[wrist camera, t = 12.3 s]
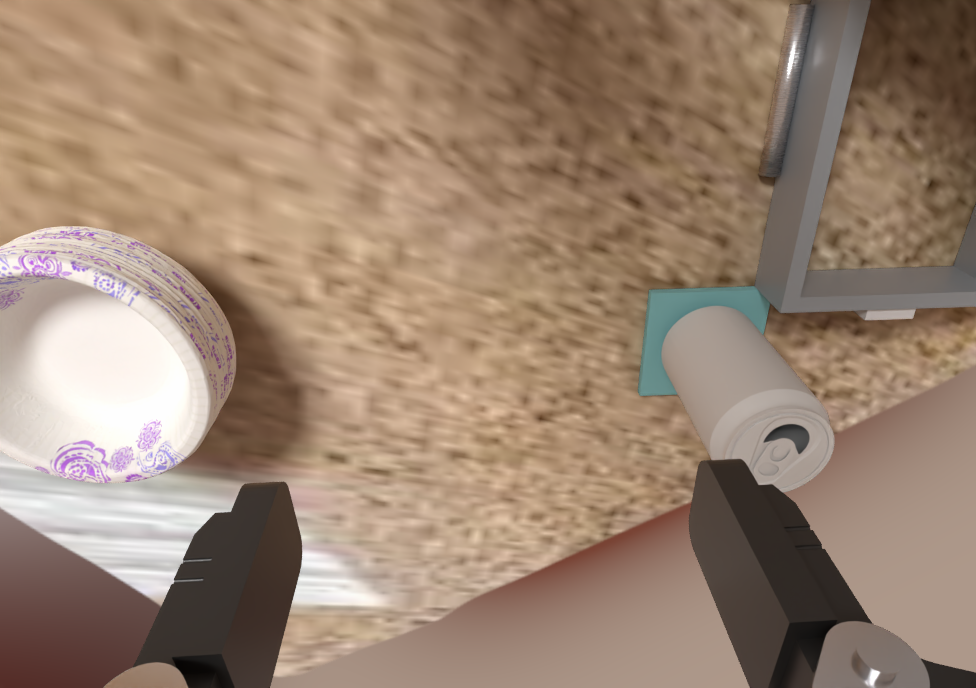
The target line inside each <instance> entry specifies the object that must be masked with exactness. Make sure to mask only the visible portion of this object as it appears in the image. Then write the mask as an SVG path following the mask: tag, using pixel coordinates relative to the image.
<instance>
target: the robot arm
mask: <svg viewBox="0 0 976 688" xmlns="http://www.w3.org/2000/svg"><path fill="white" fill-rule="evenodd" d="M689 532H690V538H691V543H692V546H693V549H694V552H695V554H696V557H697V559H698V562H699V564H700V566H701V569H702V572H703V574H704V576H705V579H706V581H707V584H708V586H709V589H710V591H711V594H712V596H713V598H714V601H715V603H716V606H717V608H718V611H719V613H720V615H721V618H722V620H723V623H724V625H725V628H726V630H727V633H728V635H729V638H730V640H731V642H732V645H733V647H734V650H735V652H736V655H737V657H738V660H739V662H740V664H741V667H742V669H743V672H744V674H745V677H746V679H747V682H748V684H749V686H750V688H976V673H974V672H971V671H966V670H962V669H957V668H953V667H949V666H944V665H940V664H936V663H933V662H929V661H926V660H923V659H921V658H920V657H919V656H918V655H917V654H916V652H915V651H914V650H913V649H912V648H911V647H910V646H909V645H908V644H907V643H906V642H904V641H903V640H902V639H901V638H899V637H898V636H896V635H895V634H893V633H891V632H890V631H888V630H886V629H884V628H881V627H879V626H876V625H874V624H872V622H871V621H870V619H869V618H868V617H867V615H866V614H865V612H864V610H863V609H862V607H861V605H860V604H859V602H858V601H857V599H856V598H855V596H854V595H853V593H852V591H851V590H850V588H849V587H848V585H847V583H846V582H845V580H844V579H843V577H842V576H841V574H840V572H839V571H838V569H837V568H836V566H835V565H834V563H833V562H832V560H831V558H830V557H829V555H828V553H827V552H826V550H825V549H822V546H821V545H822V544H821V542H820V541H819V539H818V538H817V536H816V535H815V533H814V531H813V530H810V525H809V524H808V522H807V521H806V519H805V517H804V516H803V514H802V513H801V511H800V509H799V508H798V506H797V505H796V503H795V502H793V501H792V500H791V499H790V498H789V497H787V496H786V495H785V494H784V493H783V492H781V491H780V490H779V489H778V488H776V487H775V486H774V485H773V484H767V485H758V483H757V481H756V479H755V478H754V476H753V474H752V473H751V471H750V469H749V467H748V466H747V464H746V463H745V462H744V461H743V460H742V459H724V460H706V461H701V462H700V464H699V466H698V471H697V476H696V482H695V487H694V493H693V498H692V504H691V510H690V515H689ZM301 562H302V541H301V535H300V531H299V527H298V523H297V519H296V515H295V511H294V508H293V504H292V500H291V496H290V492H289V488H288V486H287V484H286V483H285V482H268V483H249V484H244V485H243V486H242V487H241V489H240V491H239V494H238V496H237V499H236V501H235V503H234V506H233V508H232V511H231V512H224V513H215V514H214V515H213V516H212V517H211V518H210V519H209V520H208V521H207V522H206V523H205V524H204V525H203V526H202V527H201V528H200V529H199V530H198V531H197V533H196V534H195V535H194V537H193V539H192V541H191V543H190V545H189V548H188V550H187V552H186V554H185V556H184V558H183V564H181V565H180V567H179V569H178V571H177V574H176V576H175V578H174V584H172V585H171V587H170V589H169V591H168V593H167V595H166V598H165V600H164V602H163V604H162V606H161V608H160V611H159V613H158V615H157V617H156V619H155V622H154V624H153V626H152V628H151V630H150V633H149V635H148V637H147V639H146V641H145V644H144V645H143V648H142V650H141V652H140V654H139V656H138V658H137V660H136V662H135V664H134V666H133V668H131V669H129V670H127V671H125V672H123V673H122V674H120V675H119V676H117V677H115V678H114V679H113V680H112V681H110V682H109V683H108V684H107V685H106V686H105V687H104V688H270V686H271V682H272V678H273V674H274V670H275V666H276V662H277V658H278V655H279V651H280V647H281V643H282V639H283V635H284V631H285V627H286V623H287V620H288V616H289V612H290V608H291V604H292V600H293V596H294V592H295V588H296V585H297V581H298V577H299V573H300V569H301Z"/></svg>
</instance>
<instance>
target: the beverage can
mask: <svg viewBox="0 0 976 688" xmlns="http://www.w3.org/2000/svg"><path fill="white" fill-rule="evenodd" d="M661 357H662V363H663V367H664V369H665V371H666V373H667V375H668V377H669V379H670V381H671V383H672V384H673V386H674V388H675V390H676V392H677V394H678V396H679V398H680V400H681V402H682V404H683V406H684V408H685V410H686V412H687V413H688V415H689V417H690V419H691V421H692V423H693V425H694V427H695V429H696V431H697V433H698V435H699V437H700V439H701V440H702V442H703V444H704V446H705V448H706V450H707V452H708V454H709V456H710V458H711V460H724V459H742V460H743V461H744V462H745V463H746V464H747V466H748V467H749V469H750V471H751V473H752V474H753V476H754V478H755V479H756V481H757V483H758V485H767V484H773V485H774V486H775V487H776V488H778V489H779V490H780V491H781V492H783V493H784V492H787V491H790V490H793V489H796V488H798V487H800V486H802V485H804V484H806V483H807V482H809V481H810V480H811V479H813V478H814V477H815V476H816V475H818V474H819V473H820V472H821V471H822V470H823V468H824V467H825V466H826V464H827V463H828V461H829V460H830V457H831V455H832V453H833V449H834V434H833V431H832V429H831V427H830V421H829V416H828V413H827V411H826V410H825V408H824V407H823V405H822V404H821V402H820V401H819V400H818V399H817V398H816V396H815V395H814V394H813V393H812V392H811V391H810V389H809V388H808V387H807V386H806V385H805V384H804V382H803V381H802V380H801V379H800V378H799V377H798V375H797V374H796V373H795V372H794V371H793V370H792V368H791V367H790V366H789V365H788V364H787V363H786V361H785V360H784V359H783V358H782V357H781V356H780V354H779V353H778V352H777V351H776V350H775V348H774V347H773V346H772V345H771V344H770V343H769V341H768V340H767V339H766V338H765V337H764V336H763V334H762V333H761V332H760V331H759V330H758V329H757V327H756V326H755V325H754V324H753V323H752V322H751V320H750V319H749V318H748V317H747V316H746V315H744V314H743V313H742V312H740V311H738V310H736V309H733V308H730V307H726V306H708V307H704V308H700V309H697V310H695V311H692V312H690V313H688V314H687V315H685V316H684V317H682V318H681V319H680V320H678V321H677V322H676V323H675V324H674V325H673V326H672V328H671V329H670V330H669V332H668V333H667V335H666V337H665V339H664V342H663V346H662V352H661Z"/></svg>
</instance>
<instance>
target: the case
mask: <svg viewBox="0 0 976 688" xmlns="http://www.w3.org/2000/svg"><path fill="white" fill-rule="evenodd" d="M870 3H871V0H811V2H810V4H815V5H814V10H813V15H812V20H811V25H810V30H809V35H808V40H807V45H806V50H805V55H804V60H803V65H802V70H801V75H800V80H799V84H798V89H797V94H796V99H795V104H794V109H793V114H792V119H791V124H790V129H789V134H788V139H787V144H786V149H785V154H784V159H783V164H782V169H781V174H780V176H778V177H776V179H775V184H774V189H773V194H772V199H771V204H770V209H769V214H768V219H767V224H766V230H765V235H764V240H763V245H762V250H761V255H760V260H759V265H758V270H757V275H756V280H755V285H754V287H755V288H756V289H757V290H758V291H759V292H760V293H761V294H762V295H763V296H764V297H765V298H766V299H767V300H768V301H769V302H770V303H771V304H772V305H773V306H774V307H775V308H776V309H777V310H778V311H779V312H780V313H799V312H829V311H854V312H855V313H856V314H858V315H859V316H860V317H861V318H862V319H864V320H890V319H913V317H914V314H915V311H916V309H919V308H949V307H976V204H975V207H974V210H973V212H972V215H971V218H970V221H969V224H968V226H967V229H966V232H965V235H964V238H963V240H962V243H961V246H960V249H959V251H958V254H957V257H956V260H955V263H954V265H953V266H936V267H905V268H874V269H843V270H812V271H807V267H808V263H809V259H810V255H811V250H812V246H813V242H814V238H815V234H816V229H817V225H818V221H819V217H820V213H821V208H822V204H823V200H824V196H825V192H826V187H827V183H828V179H829V175H830V171H831V166H832V162H833V158H834V154H835V150H836V145H837V141H838V137H839V133H840V129H841V125H842V120H843V116H844V112H845V108H846V104H847V99H848V95H849V91H850V87H851V83H852V78H853V74H854V70H855V66H856V62H857V57H858V53H859V49H860V45H861V41H862V36H863V32H864V28H865V24H866V20H867V15H868V11H869V7H870Z"/></svg>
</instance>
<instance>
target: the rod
mask: <svg viewBox="0 0 976 688" xmlns="http://www.w3.org/2000/svg"><path fill="white" fill-rule="evenodd" d="M814 5H815V4H790V7H789V13H788V18H787V23H786V29H785V34H784V40H783V45H782V50H781V56H780V61H779V67H778V72H777V77H776V83H775V88H774V94H773V99H772V104H771V110H770V115H769V121H768V126H767V131H766V137H765V142H764V148H763V153H762V159H761V164H760V169H759V175H761V176H765V177H778V176H780V174H781V169H782V164H783V159H784V154H785V149H786V144H787V139H788V134H789V129H790V124H791V119H792V114H793V109H794V104H795V99H796V94H797V89H798V84H799V80H800V75H801V70H802V65H803V60H804V55H805V50H806V45H807V40H808V35H809V30H810V25H811V20H812V15H813V10H814Z"/></svg>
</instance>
